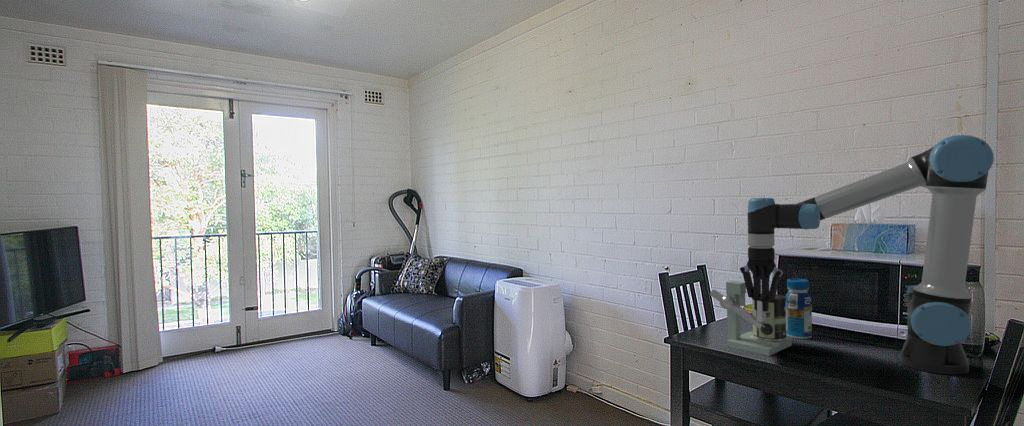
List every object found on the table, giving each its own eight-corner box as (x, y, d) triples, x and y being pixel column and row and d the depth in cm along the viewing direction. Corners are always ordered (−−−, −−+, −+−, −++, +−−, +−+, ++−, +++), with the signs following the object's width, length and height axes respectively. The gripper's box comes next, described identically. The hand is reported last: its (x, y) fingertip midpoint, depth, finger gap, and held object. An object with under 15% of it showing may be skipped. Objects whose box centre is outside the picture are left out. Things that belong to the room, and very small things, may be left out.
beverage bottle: (780, 332, 180) (780, 278, 179) (805, 332, 179) (804, 277, 178) (791, 339, 171) (790, 282, 171) (817, 339, 170) (816, 281, 170)
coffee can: (781, 333, 171) (780, 293, 171) (791, 342, 161) (790, 299, 161) (749, 332, 174) (748, 292, 173) (756, 341, 163) (755, 299, 163)
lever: (771, 336, 156) (777, 326, 155) (766, 339, 154) (772, 328, 152) (712, 296, 171) (717, 286, 170) (706, 297, 169) (711, 288, 168)
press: (793, 344, 166) (792, 281, 165) (769, 356, 155) (767, 288, 155) (749, 335, 178) (748, 276, 177) (723, 345, 167) (722, 283, 166)
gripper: (788, 247, 153) (788, 322, 154) (746, 244, 163) (747, 315, 164) (776, 249, 148) (777, 327, 149) (735, 246, 158) (735, 319, 159)
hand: (761, 320), depth 157 cm, fingers closed
